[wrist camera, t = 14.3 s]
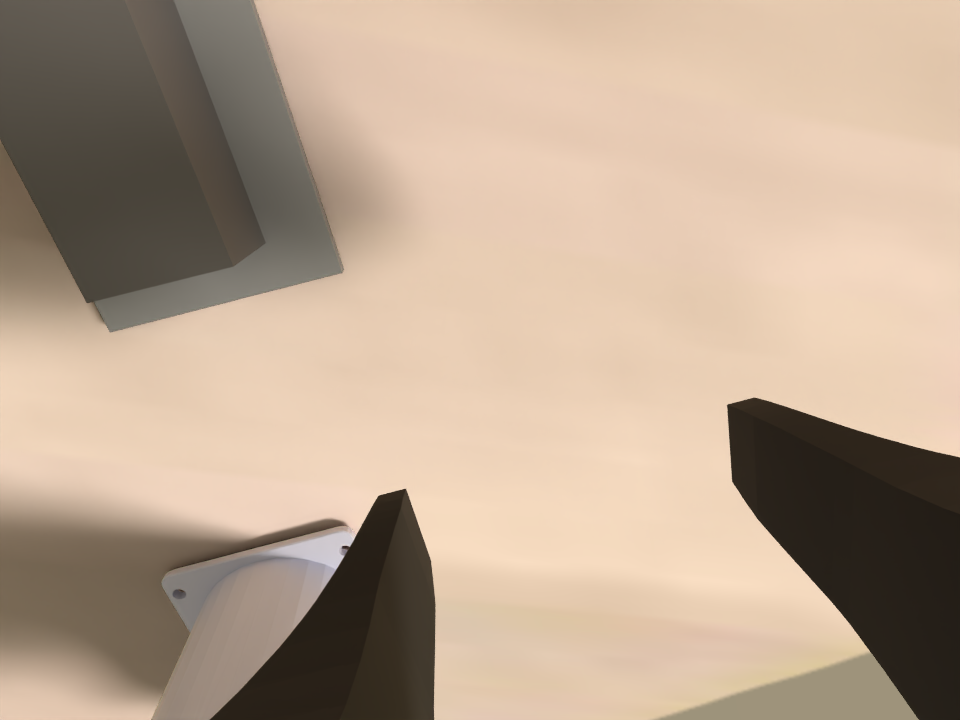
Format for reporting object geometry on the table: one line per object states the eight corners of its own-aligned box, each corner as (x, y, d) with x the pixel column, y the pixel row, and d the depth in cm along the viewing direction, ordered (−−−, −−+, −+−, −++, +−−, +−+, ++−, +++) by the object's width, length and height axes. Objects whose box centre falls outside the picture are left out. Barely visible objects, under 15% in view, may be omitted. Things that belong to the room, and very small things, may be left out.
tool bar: (265, 242, 18) (233, 266, 15) (145, 272, 18) (87, 303, 15) (102, -189, 14) (7, -286, 11) (-56, -151, 14) (-199, -238, 11)
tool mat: (343, 269, 19) (342, 273, 19) (117, 327, 19) (110, 332, 19) (196, -170, 15) (188, -181, 14) (-104, -96, 15) (-122, -104, 14)
